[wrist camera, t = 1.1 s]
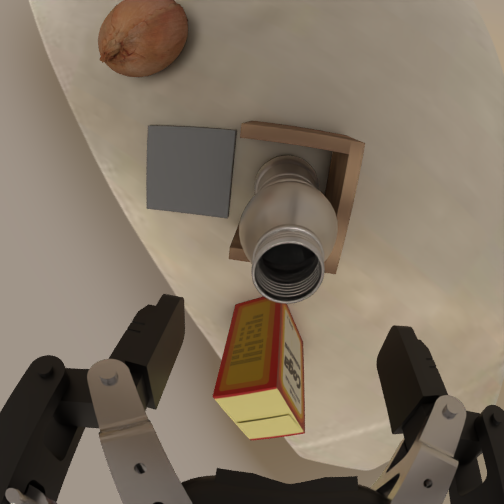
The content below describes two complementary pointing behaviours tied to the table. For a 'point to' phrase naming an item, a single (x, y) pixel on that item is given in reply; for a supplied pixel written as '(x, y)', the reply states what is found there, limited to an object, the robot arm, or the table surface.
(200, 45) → the table surface
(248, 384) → the baking soda box
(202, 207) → the rubber mat
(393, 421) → the robot arm
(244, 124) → the walnut rack
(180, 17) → the onion
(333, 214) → the plastic bottle
